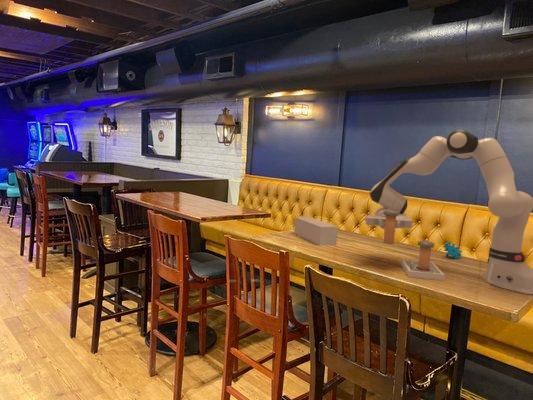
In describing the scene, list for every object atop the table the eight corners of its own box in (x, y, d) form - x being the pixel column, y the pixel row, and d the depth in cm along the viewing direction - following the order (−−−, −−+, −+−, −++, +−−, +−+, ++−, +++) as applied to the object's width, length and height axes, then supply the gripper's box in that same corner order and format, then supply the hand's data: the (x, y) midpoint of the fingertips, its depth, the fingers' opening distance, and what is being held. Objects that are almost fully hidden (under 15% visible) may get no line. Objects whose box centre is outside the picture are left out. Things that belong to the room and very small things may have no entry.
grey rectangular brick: (336, 245, 226) (337, 226, 225) (319, 246, 222) (321, 226, 221) (309, 233, 255) (310, 216, 254) (293, 234, 251) (295, 217, 250)
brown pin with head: (399, 243, 176) (402, 212, 175) (389, 245, 173) (391, 212, 172) (388, 240, 182) (390, 210, 180) (377, 241, 179) (380, 210, 177)
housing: (400, 266, 188) (401, 259, 187) (432, 269, 186) (432, 262, 185) (408, 279, 168) (409, 271, 168) (443, 282, 166) (444, 274, 166)
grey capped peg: (434, 275, 172) (437, 243, 170) (424, 277, 169) (427, 244, 167) (421, 271, 178) (424, 240, 176) (411, 273, 174) (414, 241, 173)
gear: (449, 256, 206) (442, 240, 212) (441, 262, 210) (435, 246, 216) (466, 259, 209) (460, 243, 215) (459, 264, 213) (452, 248, 219)
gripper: (364, 211, 191) (366, 215, 177) (409, 214, 187) (415, 218, 174) (363, 224, 191) (365, 229, 178) (408, 227, 188) (413, 233, 174)
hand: (390, 224), depth 176 cm, fingers closed on brown pin with head, 4 cm apart
